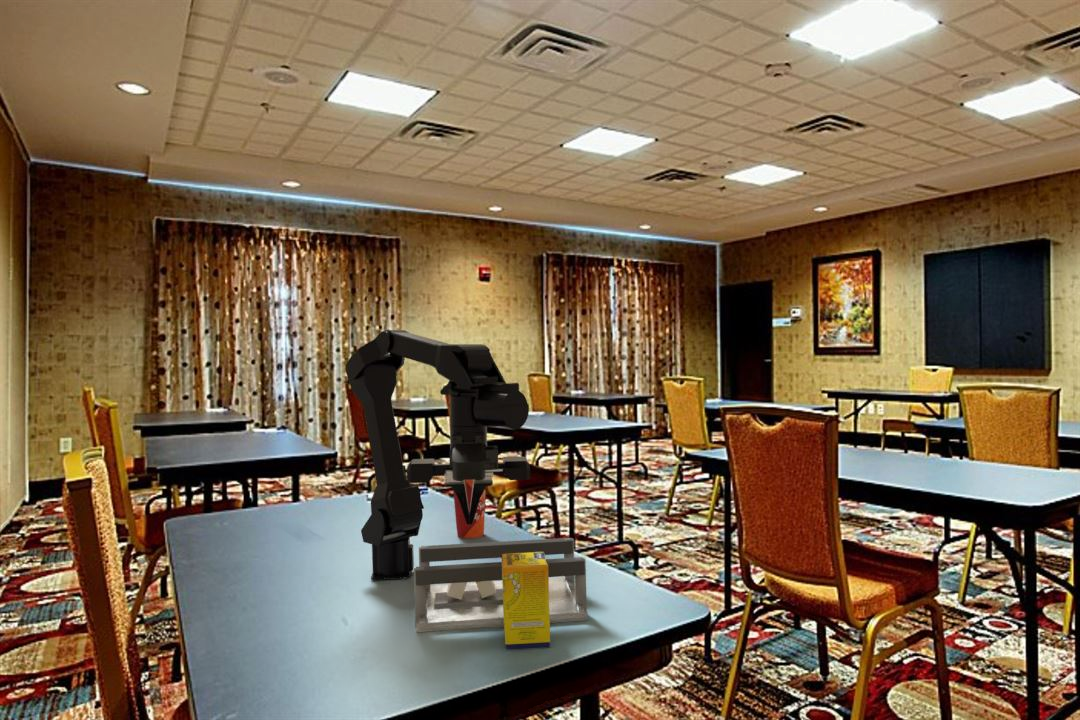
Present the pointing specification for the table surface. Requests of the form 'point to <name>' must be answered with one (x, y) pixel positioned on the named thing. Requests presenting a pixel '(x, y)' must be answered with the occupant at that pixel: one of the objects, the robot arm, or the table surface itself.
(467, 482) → the paper cup
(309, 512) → the table surface
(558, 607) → the panel
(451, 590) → the paddle on
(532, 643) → the supplement box
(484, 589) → the paddle
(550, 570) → the gray bar rack
